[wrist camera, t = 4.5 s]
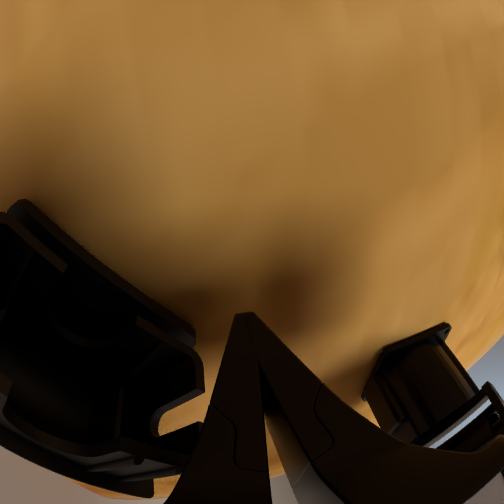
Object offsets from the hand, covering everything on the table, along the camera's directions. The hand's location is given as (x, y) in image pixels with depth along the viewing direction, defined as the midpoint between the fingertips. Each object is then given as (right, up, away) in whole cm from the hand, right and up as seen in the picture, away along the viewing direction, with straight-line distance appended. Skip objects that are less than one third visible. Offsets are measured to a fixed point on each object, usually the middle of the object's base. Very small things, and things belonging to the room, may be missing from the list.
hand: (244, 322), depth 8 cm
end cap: (-7, -1, +2) cm, 8 cm away
